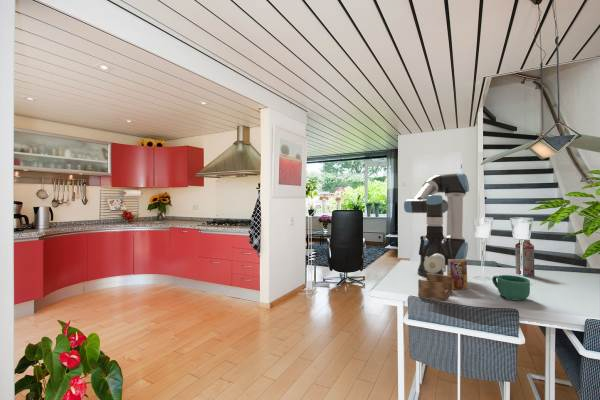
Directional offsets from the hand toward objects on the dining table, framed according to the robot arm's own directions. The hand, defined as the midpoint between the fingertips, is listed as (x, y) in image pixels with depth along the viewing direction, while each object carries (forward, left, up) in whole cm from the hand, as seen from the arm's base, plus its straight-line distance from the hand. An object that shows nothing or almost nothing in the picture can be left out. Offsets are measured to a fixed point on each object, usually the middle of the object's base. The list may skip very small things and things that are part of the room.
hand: (435, 270), depth 148 cm
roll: (0, 0, 0) cm, 0 cm away
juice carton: (-73, +36, -12) cm, 82 cm away
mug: (-16, +30, -12) cm, 36 cm away
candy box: (-17, +7, -12) cm, 22 cm away
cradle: (0, 0, -12) cm, 12 cm away
